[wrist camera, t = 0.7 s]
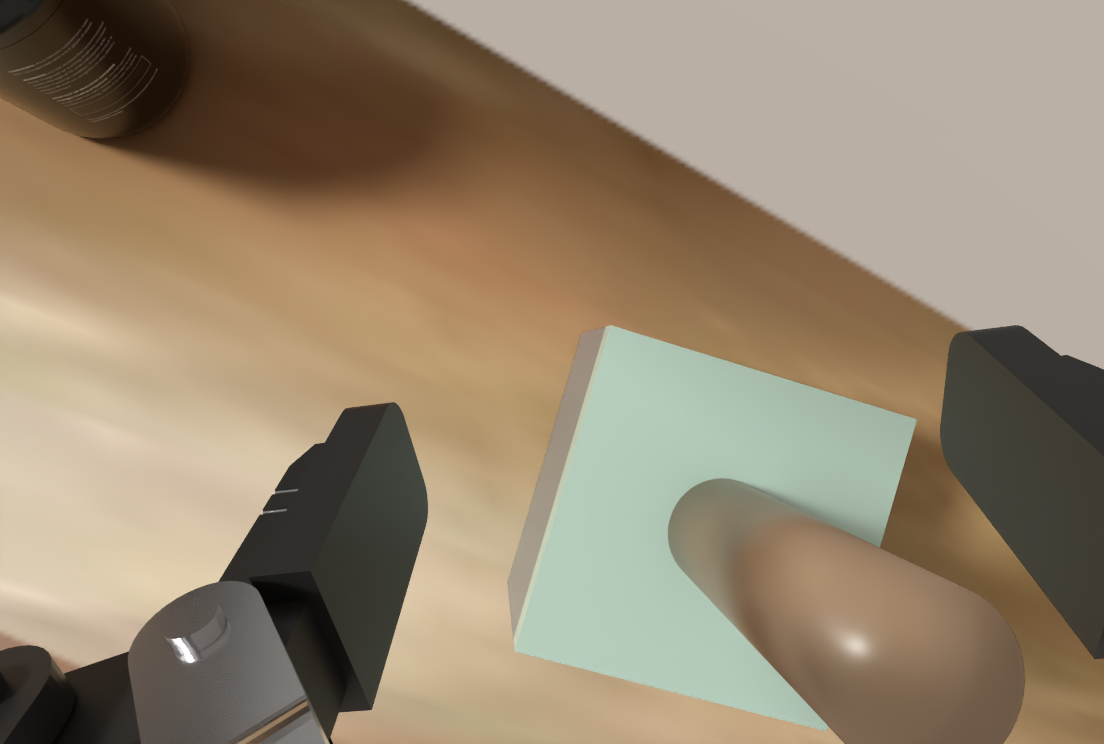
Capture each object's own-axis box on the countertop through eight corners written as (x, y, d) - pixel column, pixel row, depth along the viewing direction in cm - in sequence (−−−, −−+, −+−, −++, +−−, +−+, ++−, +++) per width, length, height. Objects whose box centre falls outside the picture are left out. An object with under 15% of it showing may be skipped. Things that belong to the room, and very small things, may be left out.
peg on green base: (512, 628, 25) (542, 920, 12) (600, 328, 25) (727, 293, 12) (799, 702, 26) (1117, 1047, 13) (883, 414, 26) (1281, 468, 13)
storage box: (507, 583, 30) (513, 639, 24) (581, 333, 30) (605, 326, 24) (749, 647, 31) (812, 716, 25) (819, 405, 31) (899, 417, 25)
